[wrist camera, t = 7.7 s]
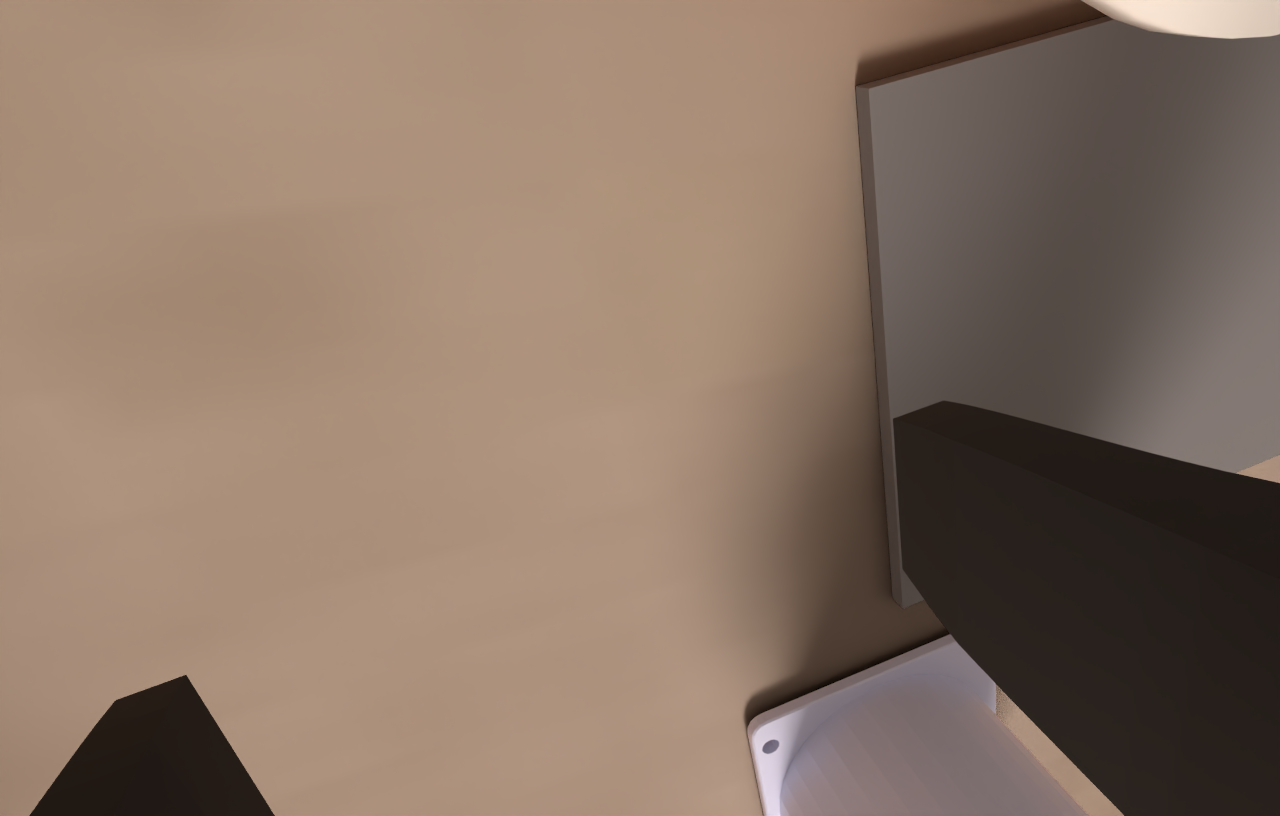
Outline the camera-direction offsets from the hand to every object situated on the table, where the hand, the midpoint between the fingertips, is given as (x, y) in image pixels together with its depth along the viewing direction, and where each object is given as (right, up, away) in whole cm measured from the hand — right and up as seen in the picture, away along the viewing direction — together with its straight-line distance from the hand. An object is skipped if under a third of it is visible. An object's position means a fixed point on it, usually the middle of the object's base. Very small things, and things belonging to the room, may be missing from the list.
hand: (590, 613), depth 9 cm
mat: (+13, +5, +14) cm, 19 cm away
